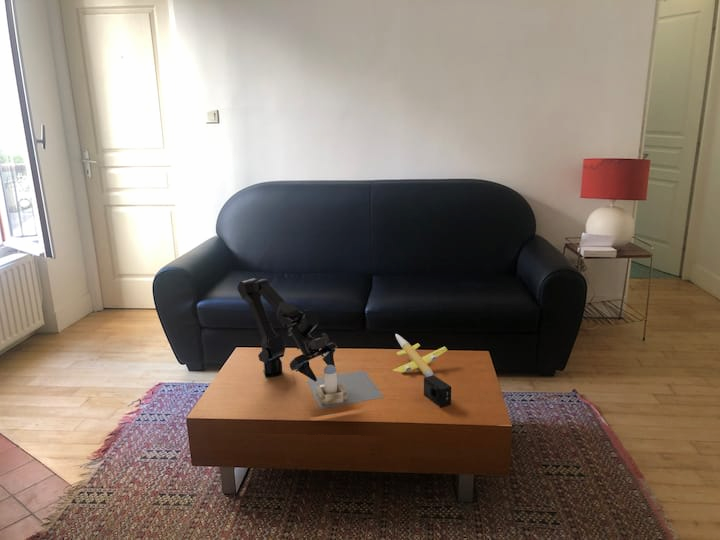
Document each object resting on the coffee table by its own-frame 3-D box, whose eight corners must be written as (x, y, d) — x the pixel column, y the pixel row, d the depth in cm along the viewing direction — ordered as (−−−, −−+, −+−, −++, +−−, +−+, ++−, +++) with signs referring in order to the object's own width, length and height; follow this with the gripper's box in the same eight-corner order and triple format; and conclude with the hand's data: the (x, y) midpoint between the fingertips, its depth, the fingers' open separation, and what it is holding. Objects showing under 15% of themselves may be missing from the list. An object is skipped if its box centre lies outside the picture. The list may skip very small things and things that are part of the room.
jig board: (320, 411, 182) (320, 408, 182) (306, 381, 204) (306, 379, 203) (384, 399, 189) (384, 397, 189) (364, 372, 210) (364, 370, 210)
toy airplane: (462, 374, 209) (423, 331, 233) (461, 361, 205) (422, 319, 229) (404, 402, 202) (370, 355, 226) (402, 389, 198) (367, 343, 222)
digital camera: (420, 396, 191) (420, 378, 189) (433, 392, 194) (433, 374, 192) (438, 408, 182) (438, 390, 180) (451, 404, 185) (451, 386, 183)
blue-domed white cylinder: (324, 400, 188) (322, 368, 185) (326, 393, 192) (324, 362, 189) (336, 400, 187) (335, 368, 184) (338, 394, 192) (337, 362, 188)
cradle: (321, 405, 184) (321, 397, 183) (315, 393, 193) (315, 385, 192) (347, 401, 187) (347, 393, 186) (340, 389, 195) (340, 381, 194)
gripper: (293, 336, 182) (316, 375, 178) (332, 321, 195) (355, 357, 191) (279, 351, 189) (302, 389, 185) (318, 335, 202) (340, 371, 198)
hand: (325, 376), depth 189 cm, fingers open, 9 cm apart
